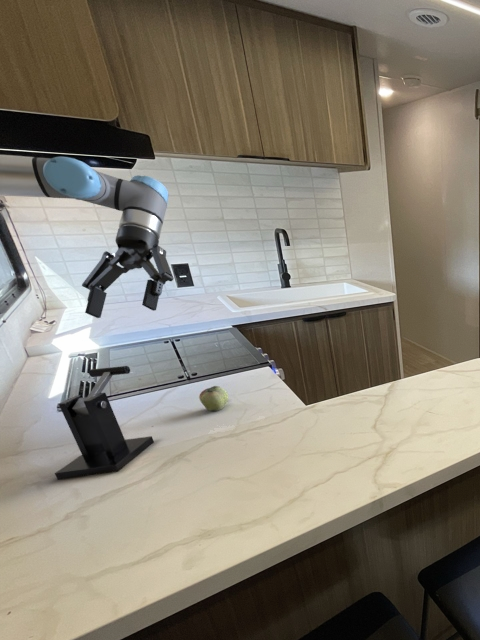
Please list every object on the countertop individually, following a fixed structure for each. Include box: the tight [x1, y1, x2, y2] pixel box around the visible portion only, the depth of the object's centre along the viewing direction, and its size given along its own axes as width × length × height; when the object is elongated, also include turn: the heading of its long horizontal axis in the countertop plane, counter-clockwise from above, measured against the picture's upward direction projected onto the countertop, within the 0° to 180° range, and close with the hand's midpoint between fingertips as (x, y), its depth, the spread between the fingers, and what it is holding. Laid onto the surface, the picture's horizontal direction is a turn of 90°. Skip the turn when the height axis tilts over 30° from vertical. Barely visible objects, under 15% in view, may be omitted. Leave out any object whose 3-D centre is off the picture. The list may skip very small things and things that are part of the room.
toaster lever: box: [72, 365, 131, 416], centre depth 82 cm, size 12×6×2 cm, turn 14°
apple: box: [198, 385, 229, 412], centre depth 105 cm, size 6×8×6 cm
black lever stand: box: [54, 392, 155, 481], centre depth 80 cm, size 12×10×14 cm
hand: (120, 311), depth 91 cm, fingers open, 13 cm apart
